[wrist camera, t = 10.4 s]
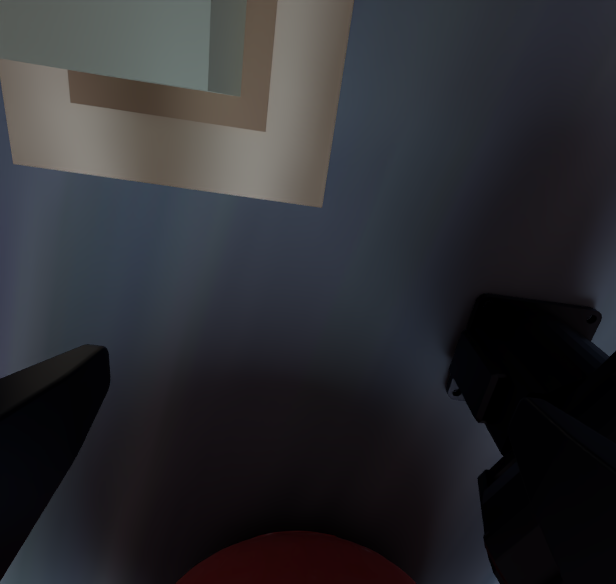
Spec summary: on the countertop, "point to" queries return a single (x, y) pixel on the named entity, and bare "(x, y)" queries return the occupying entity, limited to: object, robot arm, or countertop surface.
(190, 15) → the gray cube
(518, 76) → the countertop surface
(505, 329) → the robot arm
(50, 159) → the birch base
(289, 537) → the mixing bowl
